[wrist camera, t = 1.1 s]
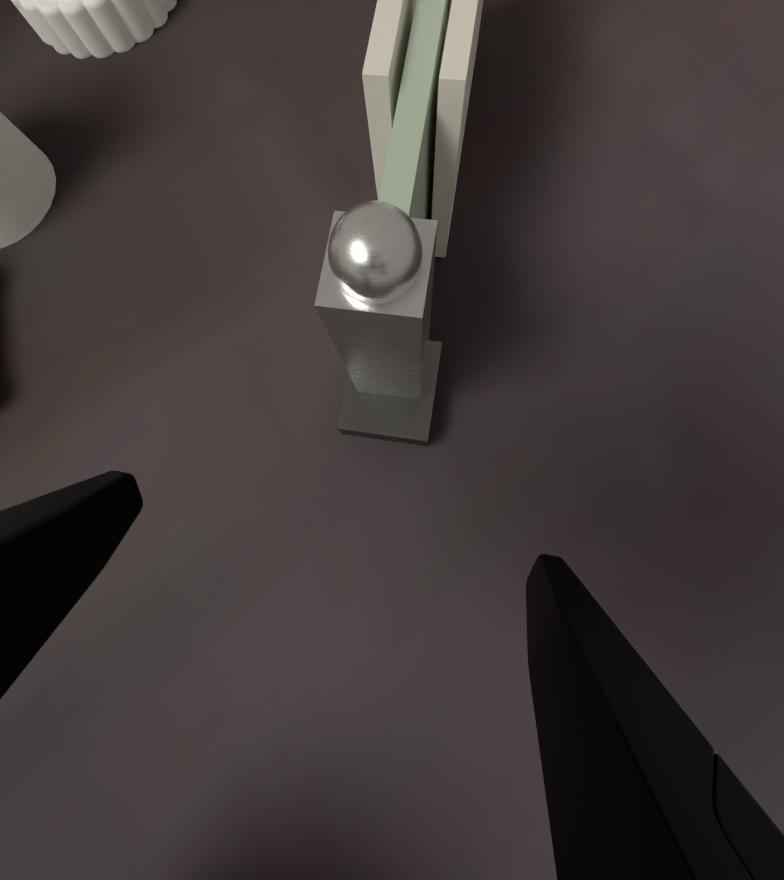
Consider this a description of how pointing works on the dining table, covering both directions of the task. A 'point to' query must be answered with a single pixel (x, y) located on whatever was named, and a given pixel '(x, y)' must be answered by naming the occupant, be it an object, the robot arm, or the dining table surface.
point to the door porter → (382, 319)
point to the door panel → (417, 115)
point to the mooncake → (94, 23)
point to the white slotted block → (452, 93)
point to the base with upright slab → (22, 184)
